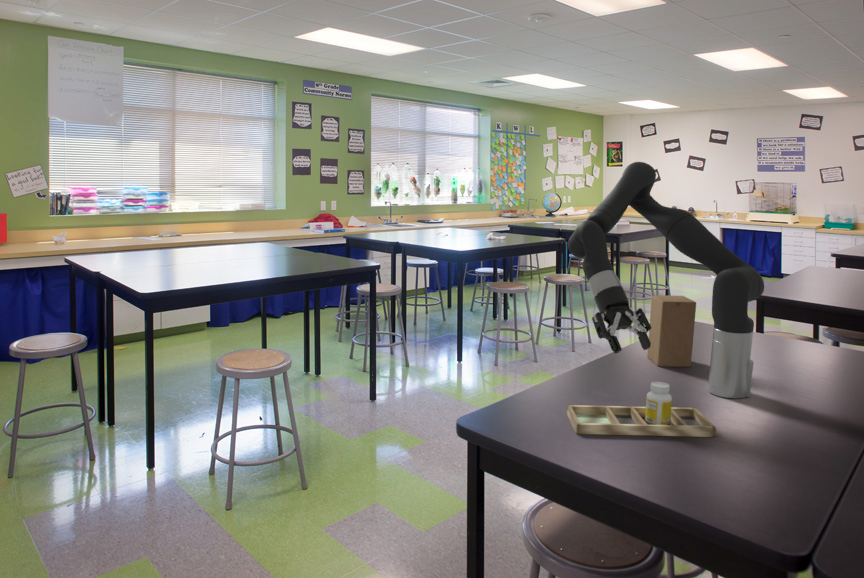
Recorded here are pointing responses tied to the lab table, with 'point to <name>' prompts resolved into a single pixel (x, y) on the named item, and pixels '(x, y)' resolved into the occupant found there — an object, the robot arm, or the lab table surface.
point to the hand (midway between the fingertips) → (633, 350)
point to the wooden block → (671, 330)
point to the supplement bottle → (658, 404)
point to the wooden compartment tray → (637, 421)
